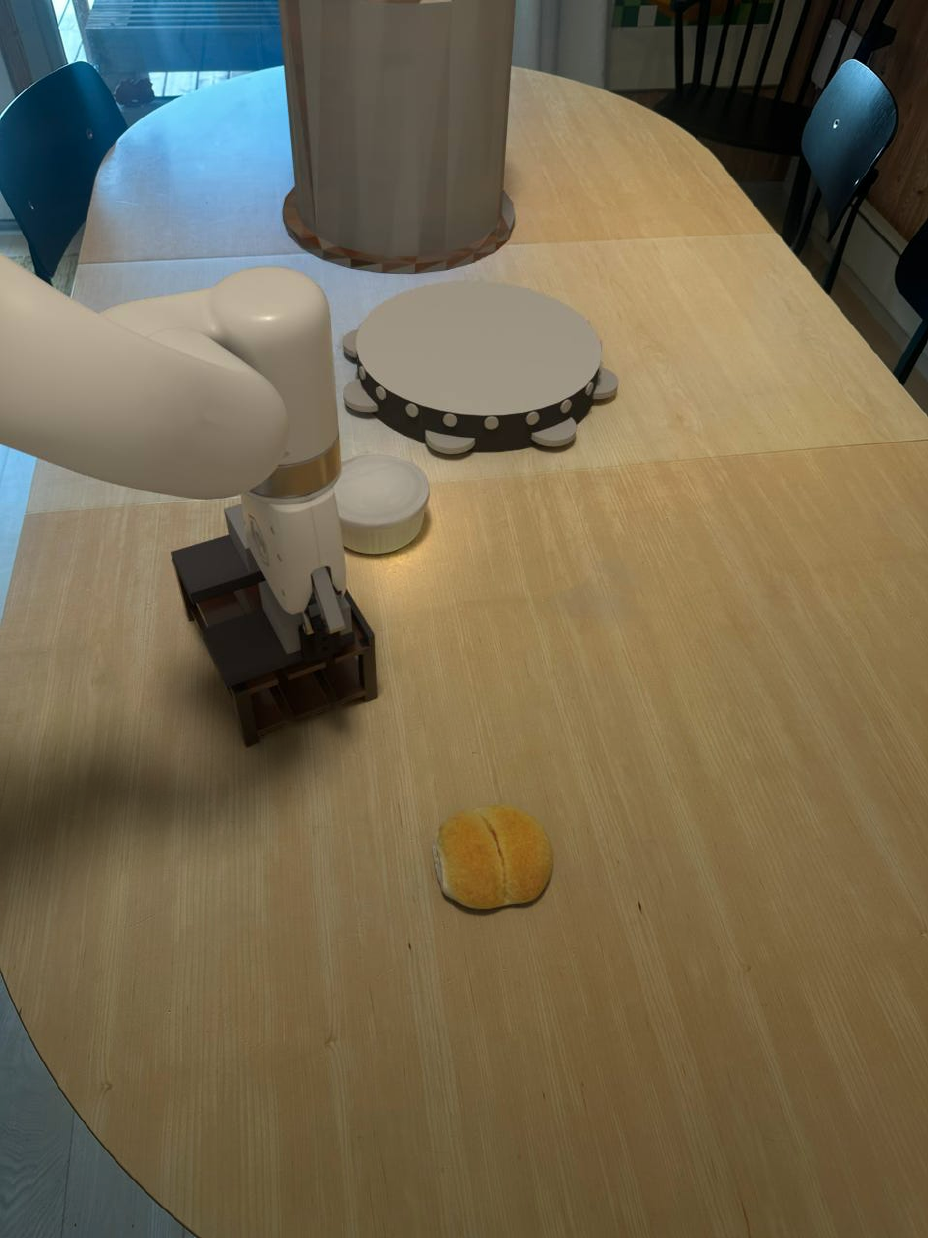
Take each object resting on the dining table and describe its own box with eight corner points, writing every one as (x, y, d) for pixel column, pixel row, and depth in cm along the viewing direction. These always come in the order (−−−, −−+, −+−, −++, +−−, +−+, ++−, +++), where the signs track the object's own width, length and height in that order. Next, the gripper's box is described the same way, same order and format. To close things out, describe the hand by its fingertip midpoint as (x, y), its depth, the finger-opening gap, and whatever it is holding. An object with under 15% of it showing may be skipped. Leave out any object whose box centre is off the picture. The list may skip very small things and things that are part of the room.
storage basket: (521, 176, 158) (540, -60, 134) (507, 283, 134) (527, 19, 111) (309, 159, 159) (290, -78, 135) (258, 262, 136) (225, -4, 112)
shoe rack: (246, 748, 81) (232, 685, 74) (185, 613, 90) (168, 548, 84) (377, 697, 85) (375, 634, 78) (305, 573, 95) (298, 509, 88)
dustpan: (225, 688, 76) (217, 652, 72) (203, 640, 79) (194, 603, 76) (355, 642, 79) (352, 605, 76) (329, 597, 83) (325, 560, 79)
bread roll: (564, 900, 72) (570, 874, 69) (446, 923, 71) (448, 898, 68) (534, 806, 78) (539, 778, 75) (424, 825, 76) (425, 798, 73)
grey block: (192, 605, 82) (183, 567, 78) (173, 563, 85) (163, 525, 82) (315, 565, 85) (311, 528, 82) (292, 527, 89) (287, 489, 85)
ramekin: (358, 477, 105) (356, 438, 101) (449, 512, 101) (450, 473, 97) (298, 538, 98) (294, 498, 94) (393, 578, 95) (392, 538, 91)
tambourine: (620, 323, 128) (626, 288, 124) (610, 481, 106) (617, 444, 102) (367, 295, 131) (365, 260, 127) (304, 444, 108) (301, 406, 105)
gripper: (194, 399, 70) (229, 576, 84) (277, 547, 60) (303, 720, 73) (291, 375, 73) (311, 550, 86) (387, 512, 63) (393, 686, 76)
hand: (307, 627), depth 80 cm, fingers closed on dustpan, 5 cm apart
